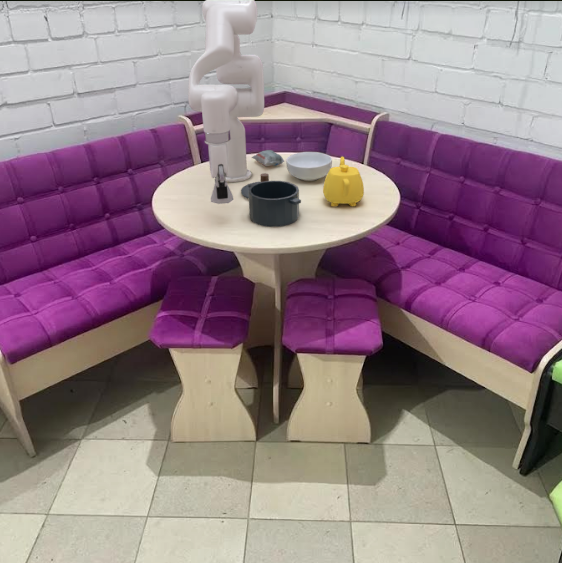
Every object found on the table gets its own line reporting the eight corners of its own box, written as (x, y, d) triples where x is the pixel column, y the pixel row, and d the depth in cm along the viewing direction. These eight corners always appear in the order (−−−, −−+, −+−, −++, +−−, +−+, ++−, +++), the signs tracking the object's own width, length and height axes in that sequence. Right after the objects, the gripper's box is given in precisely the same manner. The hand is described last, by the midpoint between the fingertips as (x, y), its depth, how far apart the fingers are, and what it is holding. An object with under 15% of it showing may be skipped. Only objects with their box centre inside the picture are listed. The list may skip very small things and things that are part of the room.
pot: (280, 234, 169) (279, 206, 164) (233, 214, 181) (232, 188, 177) (315, 218, 178) (315, 191, 173) (268, 200, 191) (268, 174, 186)
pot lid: (264, 206, 186) (263, 187, 183) (231, 193, 196) (230, 175, 193) (298, 192, 196) (298, 174, 193) (265, 180, 206) (265, 163, 203)
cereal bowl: (292, 167, 217) (292, 149, 214) (335, 171, 213) (336, 153, 210) (281, 183, 204) (280, 164, 200) (326, 187, 200) (326, 168, 196)
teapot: (359, 188, 198) (361, 154, 192) (366, 212, 181) (368, 175, 175) (321, 189, 198) (322, 155, 192) (324, 212, 181) (325, 176, 175)
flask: (230, 205, 170) (228, 174, 165) (207, 203, 171) (204, 172, 166) (236, 195, 176) (234, 165, 170) (214, 194, 177) (211, 163, 172)
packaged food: (265, 170, 215) (265, 158, 212) (251, 161, 224) (251, 149, 221) (285, 167, 218) (285, 154, 216) (270, 158, 227) (270, 146, 225)
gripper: (202, 128, 169) (207, 184, 179) (206, 146, 155) (211, 207, 165) (227, 126, 170) (230, 183, 180) (233, 144, 156) (237, 205, 166)
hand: (221, 194), depth 172 cm, fingers closed on flask, 4 cm apart
